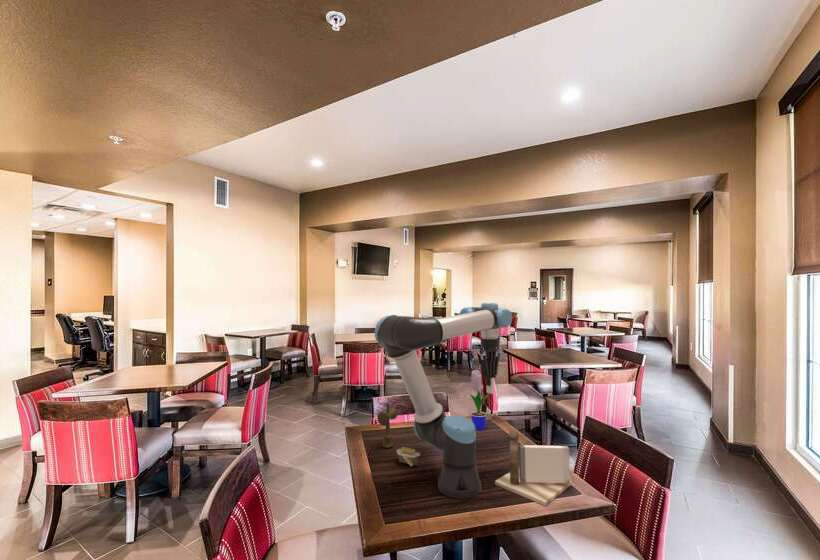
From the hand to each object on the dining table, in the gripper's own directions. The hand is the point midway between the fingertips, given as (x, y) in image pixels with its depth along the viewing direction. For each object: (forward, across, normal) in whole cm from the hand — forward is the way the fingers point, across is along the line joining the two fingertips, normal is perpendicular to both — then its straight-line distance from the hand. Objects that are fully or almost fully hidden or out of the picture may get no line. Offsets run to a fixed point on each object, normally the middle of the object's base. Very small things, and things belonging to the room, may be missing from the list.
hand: (490, 392), depth 159 cm
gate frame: (+26, -11, -25) cm, 38 cm away
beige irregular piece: (+27, -32, +18) cm, 46 cm away
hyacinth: (+26, +24, +21) cm, 41 cm away
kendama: (+27, -26, +37) cm, 53 cm away
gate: (+24, -10, -29) cm, 39 cm away
